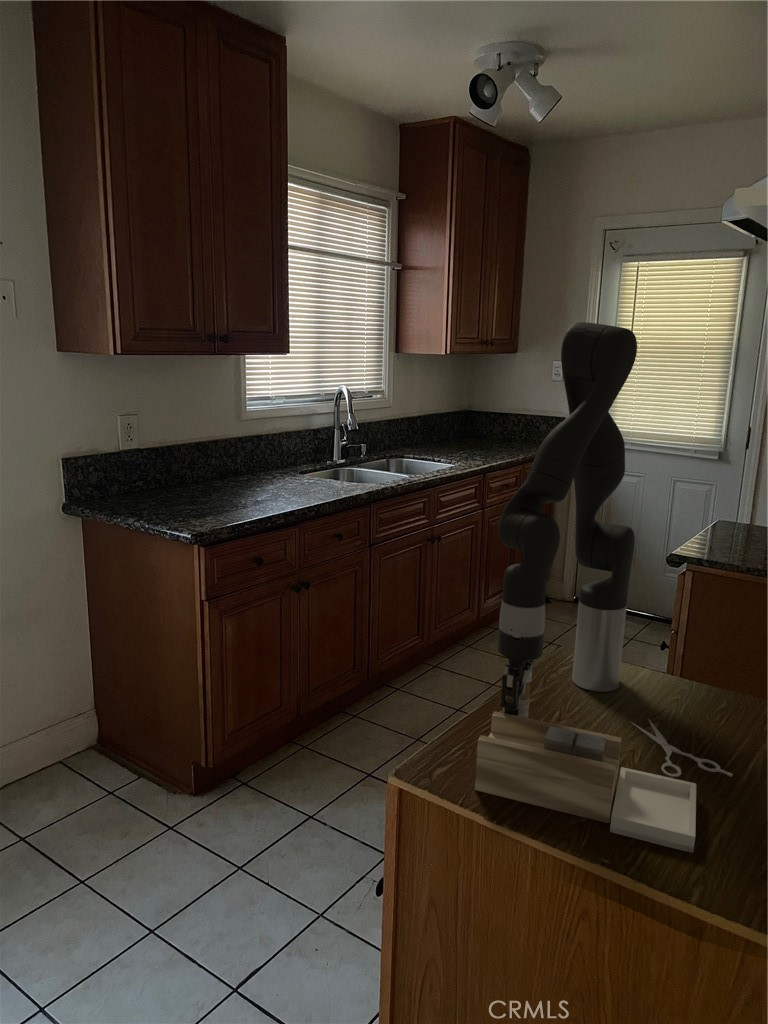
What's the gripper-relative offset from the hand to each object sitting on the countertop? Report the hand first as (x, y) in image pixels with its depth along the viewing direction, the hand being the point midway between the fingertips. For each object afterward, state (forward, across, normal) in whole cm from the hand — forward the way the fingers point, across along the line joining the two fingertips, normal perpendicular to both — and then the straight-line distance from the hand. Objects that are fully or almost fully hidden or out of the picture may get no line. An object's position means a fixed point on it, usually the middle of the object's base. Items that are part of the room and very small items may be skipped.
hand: (515, 716), depth 131 cm
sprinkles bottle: (+5, 0, 0) cm, 5 cm away
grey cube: (-1, +12, +9) cm, 16 cm away
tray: (+4, +12, +24) cm, 27 cm away
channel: (+4, +12, +8) cm, 15 cm away
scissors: (+5, -9, +25) cm, 27 cm away
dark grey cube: (-1, +12, +14) cm, 19 cm away
